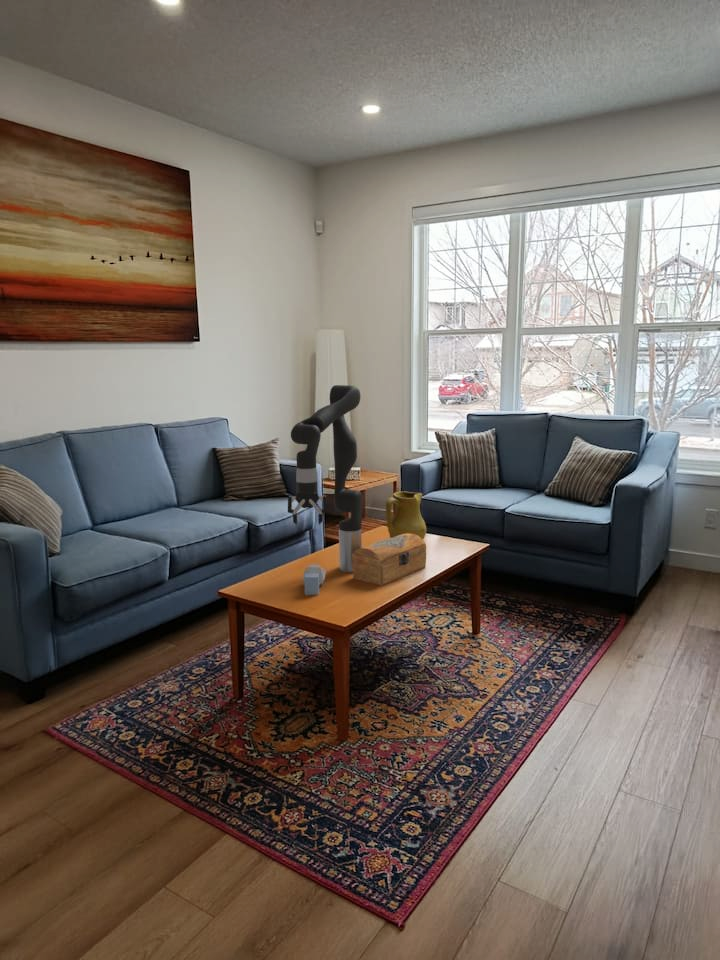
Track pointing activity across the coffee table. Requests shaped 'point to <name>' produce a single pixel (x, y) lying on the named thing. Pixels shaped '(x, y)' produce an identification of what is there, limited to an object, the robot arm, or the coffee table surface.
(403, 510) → the pitcher
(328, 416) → the robot arm
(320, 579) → the die
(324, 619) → the coffee table surface
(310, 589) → the block
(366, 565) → the wooden box
